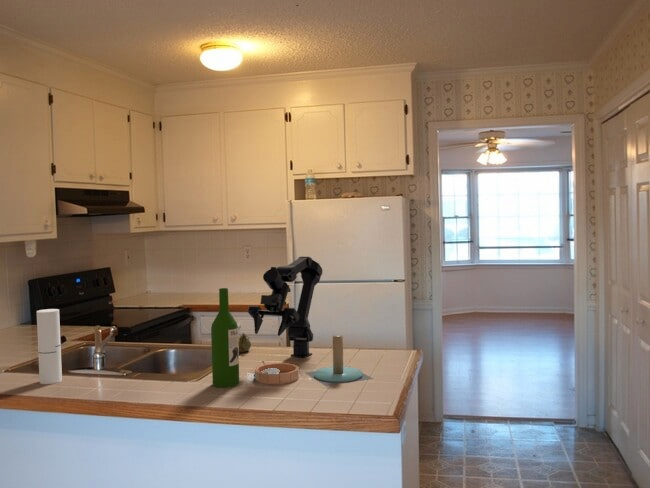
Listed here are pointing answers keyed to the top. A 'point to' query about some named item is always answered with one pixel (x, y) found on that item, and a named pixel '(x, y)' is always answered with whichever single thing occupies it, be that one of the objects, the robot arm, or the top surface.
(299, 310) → the robot arm
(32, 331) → the top surface
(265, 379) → the bowl
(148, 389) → the top surface
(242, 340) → the artichoke
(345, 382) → the mat
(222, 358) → the wine bottle
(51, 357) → the cylindrical container
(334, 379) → the teal disc with post
